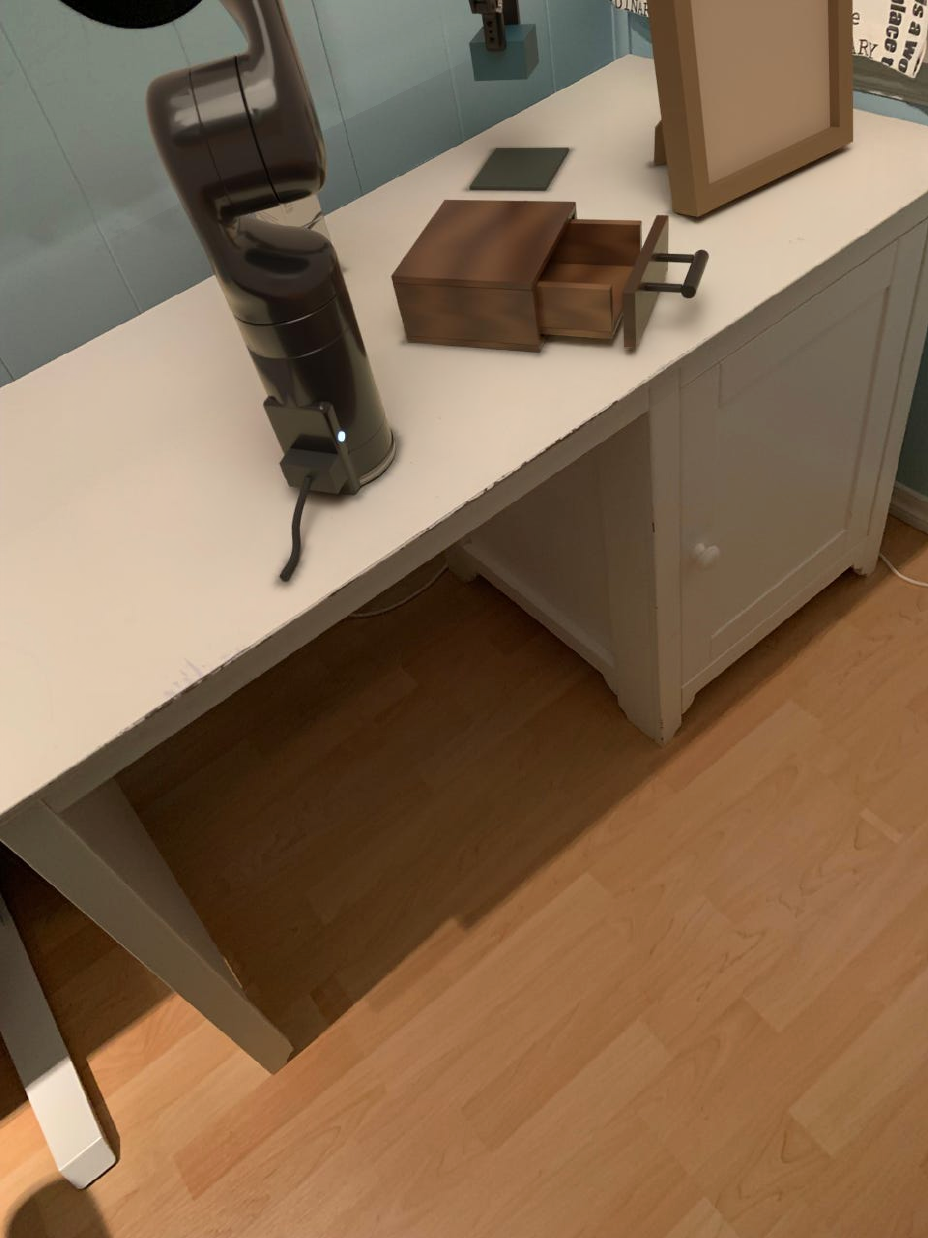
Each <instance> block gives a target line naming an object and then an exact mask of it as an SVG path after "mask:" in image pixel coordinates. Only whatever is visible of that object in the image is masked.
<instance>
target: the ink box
mask: <svg viewBox="0 0 928 1238" xmlns="http://www.w3.org/2000/svg"><path fill="white" fill-rule="evenodd" d="M322 210H323V209H322V208H321V205H320V201H319V198H318V195H317V194H315V195H313V196H311V197H308V198H306V199H303V200H299V201H296V202H292V203H289V204H285V205H283V204H282V205H281V206H277V207H273V208H269V209H265V210H262V211H258V212H254V213H253V214H254V216H255V218H257V219H260V220H263V221H266V222H269V223H274V224H279V225H286V226H295V227H302V228H307V229H311V230H314V231H316V232H318V233H320V234H322V235H324V236H325V237H326V238H327V239H328V240H329V241H330V242H331V243H332V245H333V246H334V244H333V242H332V239H331V236H330V232H329V228H328V226H327V223H326V220H325V217H324V214H323V211H322Z"/></svg>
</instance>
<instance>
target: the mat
mask: <svg viewBox="0 0 928 1238" xmlns="http://www.w3.org/2000/svg"><path fill="white" fill-rule="evenodd" d="M569 151H570V147H495V148H494V149H493V152H492V153H491V154H490V156H489V157H488V159H487V161H486V162H485V163H484V164H483V166H482V168H481V169H480V170H479V172H478V174H477V175H476V176H475V177H474V178H473V180H472V182H471V183H470V185H469V190H474V191H475V190H479V191H480V190H483V191H484V190H485V191H486V190H487V191H489V190H491V191H497V190H498V191H547V189H548V187H549V185H550V183H551V182H552V180H553V179H554V177H555V176H556V174H557V172H558V170H559V169H560V167H561V166H562V163H563V161H564V160H565V158H566V156H567V155H568V153H569Z"/></svg>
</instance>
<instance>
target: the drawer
mask: <svg viewBox="0 0 928 1238" xmlns="http://www.w3.org/2000/svg"><path fill="white" fill-rule="evenodd" d="M669 217H670V216H669V215H668V214H656V216H655V218H654V220H653V222H652V225H651V227H650V229H649V231H648V234H647V236H646V238H645V240H644V243H643V228H642V227H643V226H642V225H643V224H642V222H643V221H642V220H639V219H638V220H633V219H596V218H595V219H593V218H577V219H571V220H570V222H569V223H568V225H567V227H566V229H565V231H564V233H563V234H562V236H561V238H560V240H559V242H558V244H557V246H556V247H555V249H554V251H553V253H552V255H551V257H550V258H549V260H548V262H547V264H546V266H545V268H544V270H543V271H542V273H541V275H540V277H539V279H538V281H537V282H536V284H535V291H536V300H537V308H538V316H539V325H540V333H541V334H549V335H552V336H565V337H577V338H578V337H579V338H594V339H607V340H608V339H609V340H612V339H613V338H614V335H615V333H616V331H617V328H618V327H619V323H620V322H621V319H622V329H623V330H622V331H623V333H622V334H623V348H631V349H636V348H637V347H638V345H639V342H640V339H641V337H642V335H643V332H644V331H645V328H646V325H647V323H648V320H649V317H650V315H651V313H652V310H653V307H654V305H655V303H656V300H657V298H658V295H659V293H671V294H672V293H674V294H681V296H682V297H683V298H685V299H693V298H694V297H695V296H696V295H697V291H698V290H699V289H698V288H699V286H700V284H701V281H702V278H703V275H704V273H705V270H706V267H707V265H708V262H709V259H710V255H709V252H708V251H707V250H706V249H697V251H695V252H694V253H693V254H692V253H669V230H670V229H669V227H670V226H669V225H670V223H669ZM669 263H676V264H677V263H678V264H679V263H680V264H690V265H689V267H688V270H687V273H686V275H685V278H684V281H683V284H682V283H669V282H664V280H665V278H666V276H667V273H668V271H669Z"/></svg>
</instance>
